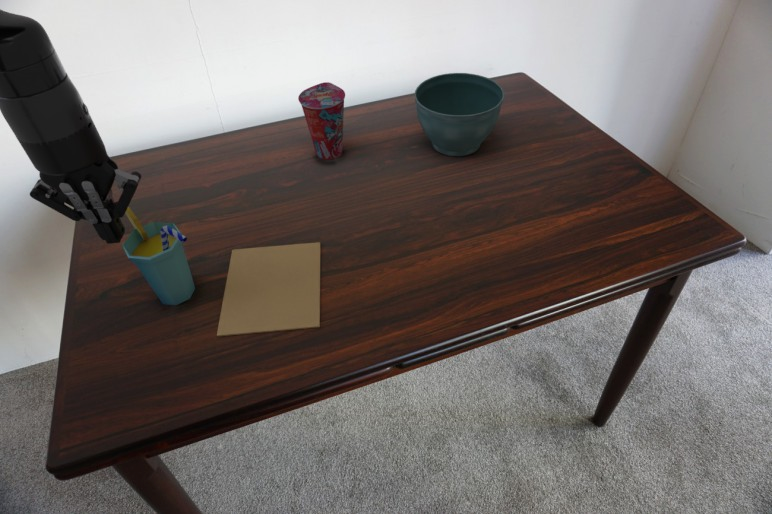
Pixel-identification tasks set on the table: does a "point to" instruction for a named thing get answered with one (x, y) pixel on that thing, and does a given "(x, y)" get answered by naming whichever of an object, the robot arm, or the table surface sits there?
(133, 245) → the cup
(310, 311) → the cork mat
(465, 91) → the flower pot
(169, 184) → the table surface
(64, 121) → the robot arm
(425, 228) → the table surface
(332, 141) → the cup
